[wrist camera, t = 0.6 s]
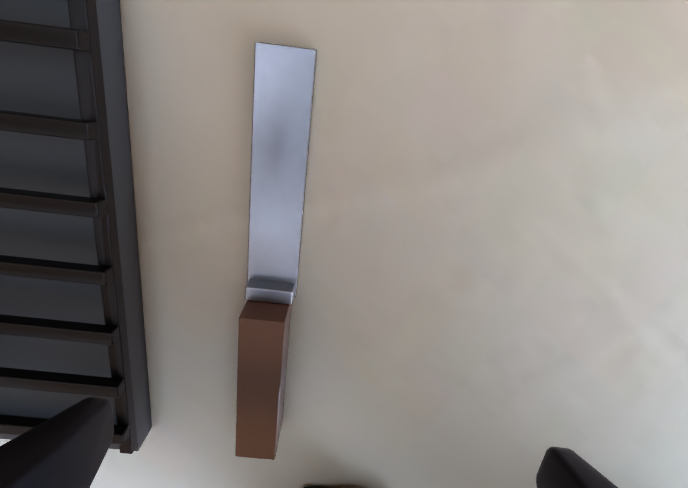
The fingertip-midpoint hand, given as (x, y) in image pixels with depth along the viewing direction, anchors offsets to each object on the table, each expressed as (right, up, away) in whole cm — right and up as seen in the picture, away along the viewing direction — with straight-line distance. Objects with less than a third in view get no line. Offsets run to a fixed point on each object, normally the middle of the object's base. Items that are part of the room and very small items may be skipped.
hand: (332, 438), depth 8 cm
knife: (-3, +3, +13) cm, 13 cm away
